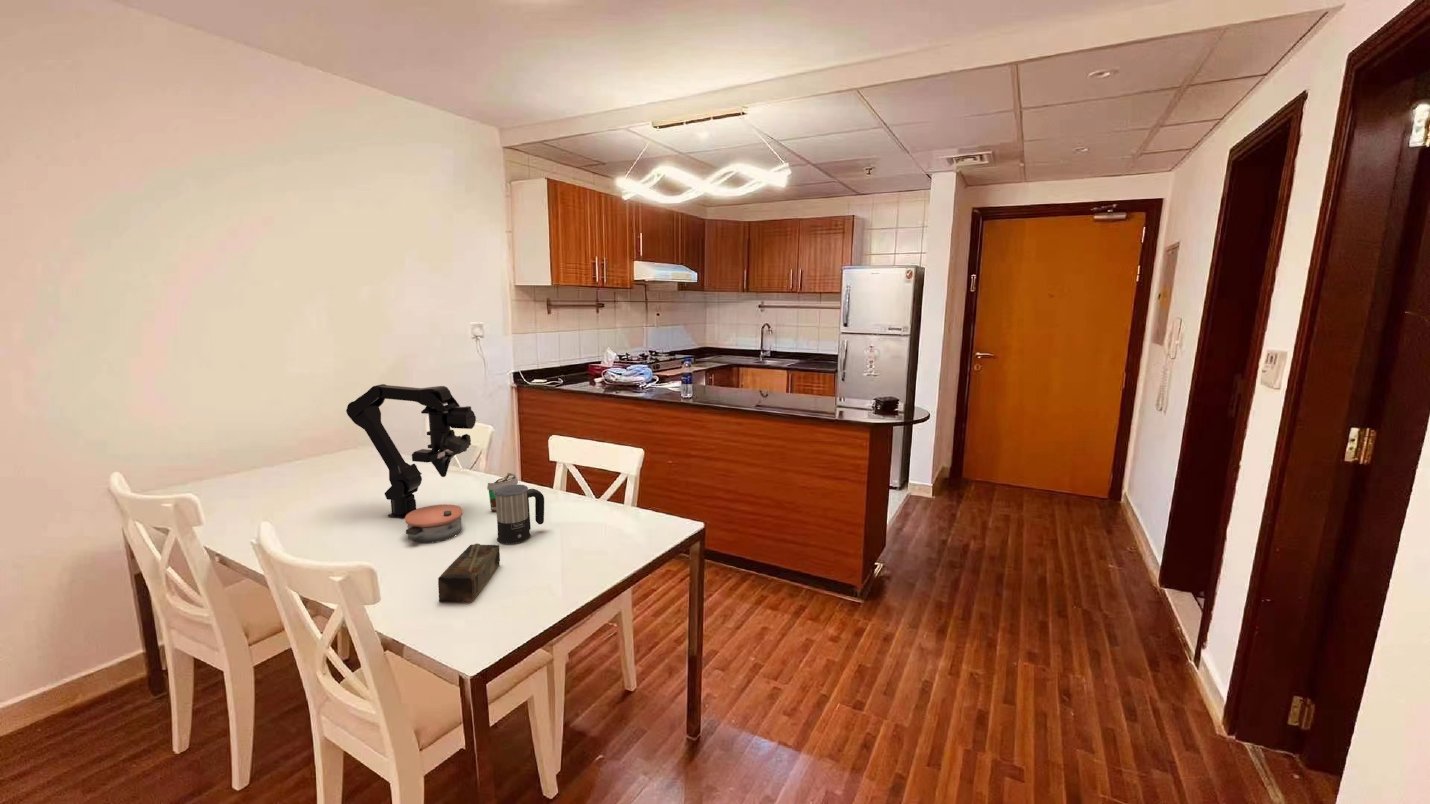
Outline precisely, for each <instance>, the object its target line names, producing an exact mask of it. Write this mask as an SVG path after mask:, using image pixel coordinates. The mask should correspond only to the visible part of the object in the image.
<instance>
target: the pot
mask: <svg viewBox="0 0 1430 804" xmlns="http://www.w3.org/2000/svg"><path fill="white" fill-rule="evenodd" d="M462 525H463V524H462V516H461V517H460V518H458V519H457V520H455V521H452V522H450V523H446V524H443V525H438V526H431V527H415V526H410V525H408V524H407V529H406V530H405V534H406V535H408V539H409V541H411V542H413V543H417V544H432V542H433V543H438V542H437V541H440V542H445V541H447V540H450V539H453V538H455V537H456V536H455V535H457V536H458V535H460V534H461V533H462V531H463V527H462ZM461 530H462V531H461ZM460 532H461V533H460ZM459 533H460V534H459ZM454 536H455V537H454ZM452 537H453V538H452ZM449 538H450V539H449ZM446 539H447V540H446Z"/></svg>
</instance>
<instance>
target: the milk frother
mask: <svg viewBox="0 0 1430 804" xmlns="http://www.w3.org/2000/svg"><path fill="white" fill-rule="evenodd" d="M494 494H495V497H496V512H495V513H496V522H497V523H496V524H497V538H496V540H497V542H498V543H500V544H503V545H516V544H520V543H521V544H522V543H524V542H525V541H528V540H529V539H530V538H531V536H532V535H531V529H532V527H531V516H530V501H529V500H530V499H529V498H533V497H534V498H535V499H534V503H535V504H534V505H535V506H534V507H535V513H534V515H535V518H534V519H535V522H536V524H538V525H543V524H544V523H545V522H544V521H545V496H544V494H543V493H542V492H541V491H540V490H538V489H535V488H529V487H528V486H527V485H524V484H519V483H517V484H513V485H506V486H502V487H499V488H497V489H495V490H494Z"/></svg>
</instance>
